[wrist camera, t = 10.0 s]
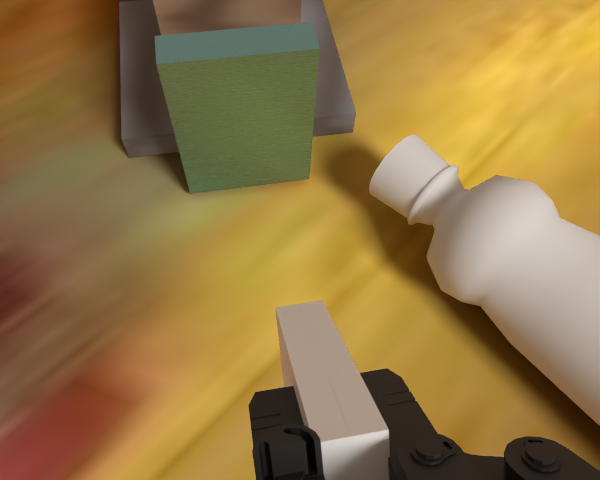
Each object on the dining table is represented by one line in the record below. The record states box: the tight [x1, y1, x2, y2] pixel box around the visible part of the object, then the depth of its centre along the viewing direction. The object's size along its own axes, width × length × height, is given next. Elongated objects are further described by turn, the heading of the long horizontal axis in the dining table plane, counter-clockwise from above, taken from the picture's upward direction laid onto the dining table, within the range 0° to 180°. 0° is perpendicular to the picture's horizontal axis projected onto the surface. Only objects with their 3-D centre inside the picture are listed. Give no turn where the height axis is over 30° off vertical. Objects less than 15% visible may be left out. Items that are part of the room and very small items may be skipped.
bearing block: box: [119, 0, 356, 158], centre depth 36 cm, size 16×14×12 cm
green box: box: [155, 22, 320, 194], centre depth 35 cm, size 8×18×11 cm, turn 10°
